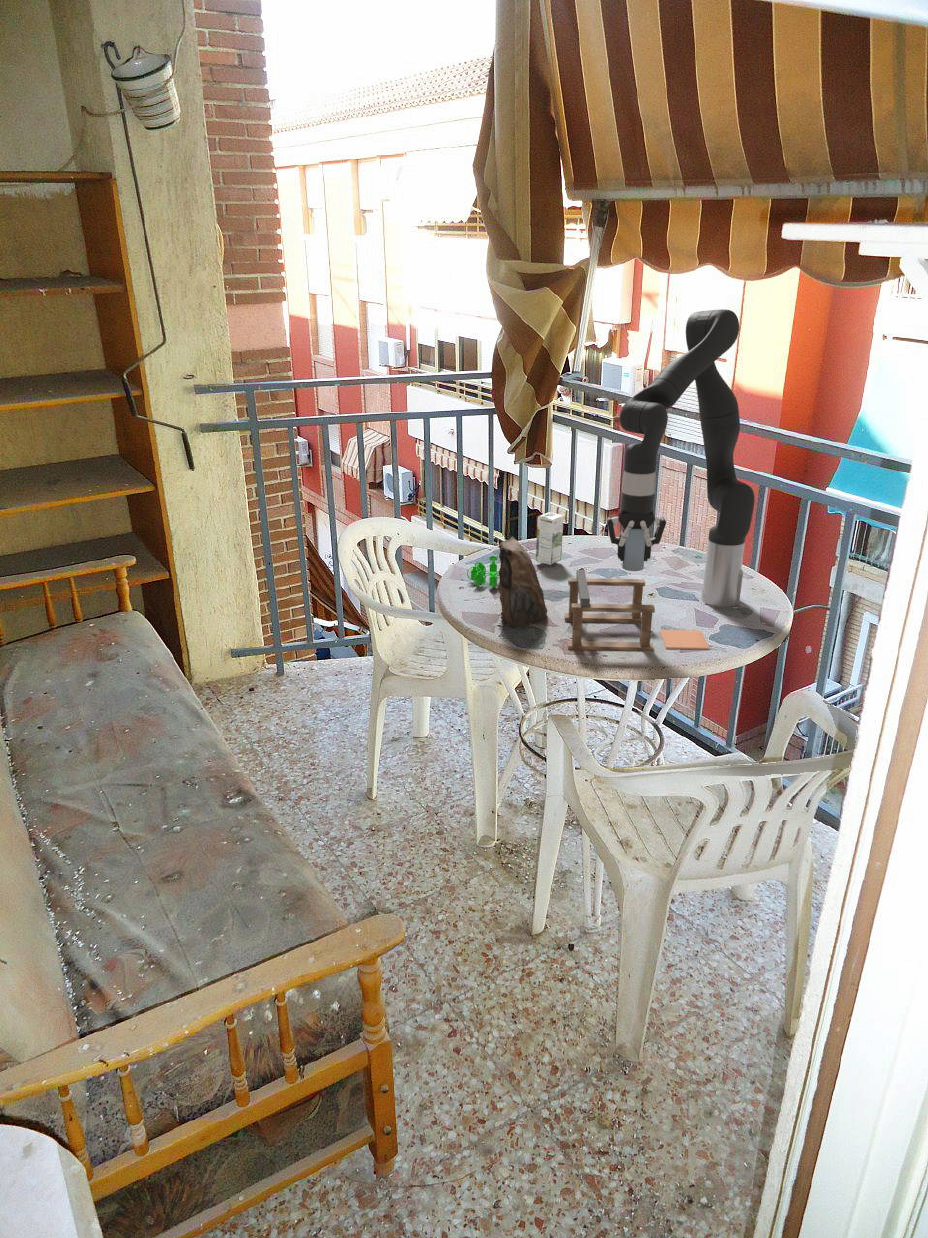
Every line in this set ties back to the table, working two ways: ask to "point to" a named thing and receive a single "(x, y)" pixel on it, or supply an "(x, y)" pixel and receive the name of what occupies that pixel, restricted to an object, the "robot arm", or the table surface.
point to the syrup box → (549, 538)
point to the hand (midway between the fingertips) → (633, 559)
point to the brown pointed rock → (519, 586)
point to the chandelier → (480, 572)
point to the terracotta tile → (683, 639)
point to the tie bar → (582, 588)
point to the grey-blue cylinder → (634, 550)
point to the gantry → (610, 616)
